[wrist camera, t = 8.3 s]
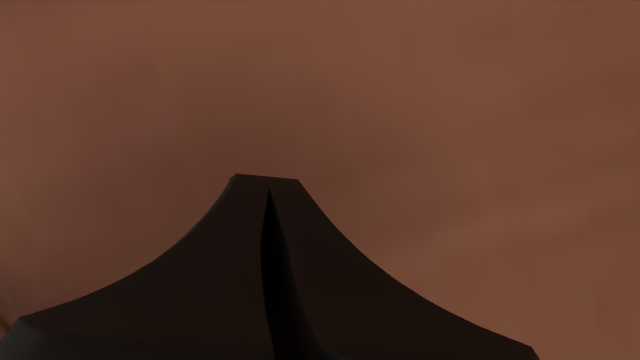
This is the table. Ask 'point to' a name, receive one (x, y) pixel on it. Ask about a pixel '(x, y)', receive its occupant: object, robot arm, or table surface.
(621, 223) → the table surface
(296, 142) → the table surface
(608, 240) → the table surface
